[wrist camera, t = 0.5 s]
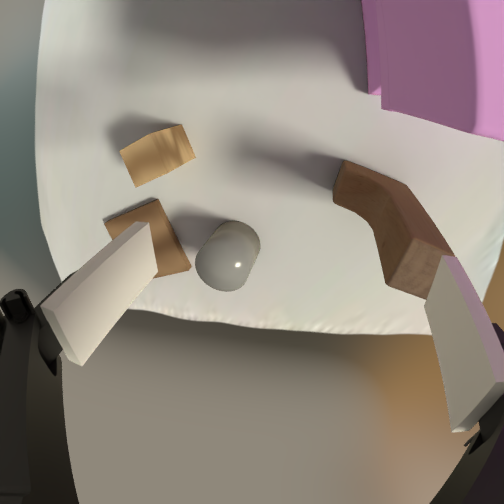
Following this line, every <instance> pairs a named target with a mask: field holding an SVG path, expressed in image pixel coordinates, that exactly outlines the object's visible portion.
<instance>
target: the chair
mask: <svg viewBox="0 0 504 504" xmlns="http://www.w3.org/2000/svg"><path fill="white" fill-rule="evenodd" d="M361 4H362V12H363V21H364V31H365V43H366V57H367V75H368V94H372V95H381V109H384V110H388V111H395V112H400V113H404V114H407V115H411V116H415V117H418V118H422V119H425V120H428V121H432V122H435V123H438V124H441V125H444V126H448V127H451V128H454V129H457V130H460V131H463V132H467V133H471V134H475V135H480V136H484V137H488V138H493V139H497V140H501V141H504V0H361Z"/></svg>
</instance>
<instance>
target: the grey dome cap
mask: <svg viewBox="0 0 504 504" xmlns="http://www.w3.org/2000/svg"><path fill="white" fill-rule="evenodd" d="M259 251H260V240H259V237H258V235H257V233H256V232H255V231H254V230H253V229H252V228H251V227H250V226H249V225H247V224H245V223H243V222H239V221H228V222H225V223H223V224H221V225H220V226H219V227H218V228H217V229H216V231H215V232H214V233H213V234H212V236H211V237H210V238H209V239H208V241H207V242H206V243H205V244H204V246H203V247H202V248H201V250H200V251H199V252H198V254H197V256H196V259H195V266H196V270H197V273H198V275H199V276H200V278H201V279H202V280H203V281H204V282H205V283H206V284H207V285H209V286H210V287H212V288H214V289H216V290H219V291H225V292H229V291H235V290H237V289H239V288H241V287H242V286H243V285H244V284H245V282H246V280H247V278H248V276H249V274H250V271H251V269H252V267H253V265H254V263H255V260H256V258H257V256H258V254H259Z"/></svg>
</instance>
